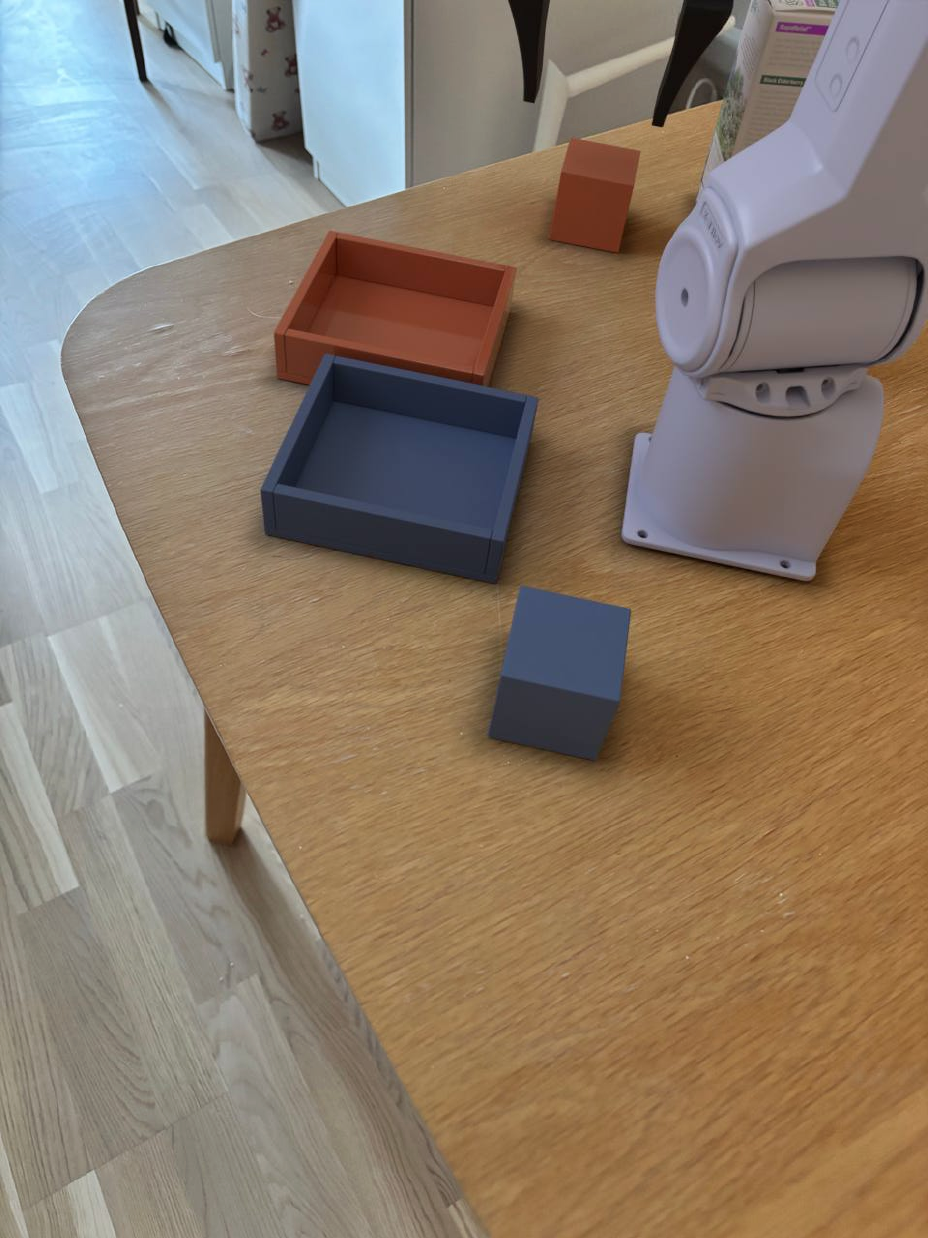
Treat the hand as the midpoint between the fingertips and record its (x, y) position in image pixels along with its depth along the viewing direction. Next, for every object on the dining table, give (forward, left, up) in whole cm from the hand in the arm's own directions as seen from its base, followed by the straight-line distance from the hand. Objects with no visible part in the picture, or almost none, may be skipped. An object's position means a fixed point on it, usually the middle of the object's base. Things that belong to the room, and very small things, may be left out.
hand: (594, 106), depth 58 cm
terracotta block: (-1, -1, -8) cm, 8 cm away
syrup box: (-11, -5, -8) cm, 15 cm away
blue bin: (+5, +26, -8) cm, 28 cm away
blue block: (-4, +37, -8) cm, 38 cm away
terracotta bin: (+8, +15, -8) cm, 19 cm away
